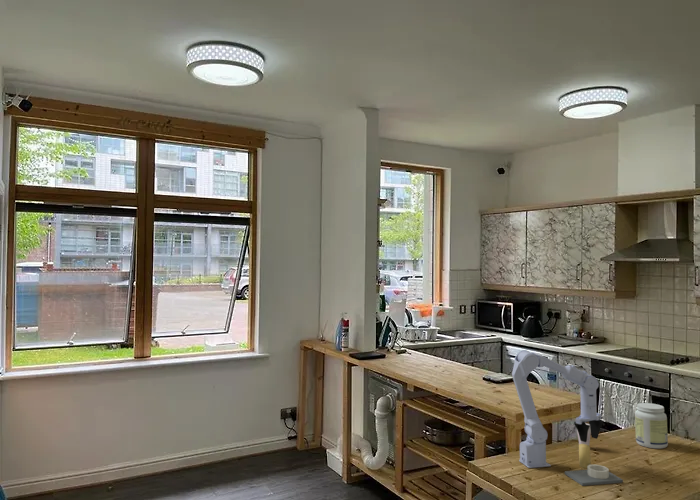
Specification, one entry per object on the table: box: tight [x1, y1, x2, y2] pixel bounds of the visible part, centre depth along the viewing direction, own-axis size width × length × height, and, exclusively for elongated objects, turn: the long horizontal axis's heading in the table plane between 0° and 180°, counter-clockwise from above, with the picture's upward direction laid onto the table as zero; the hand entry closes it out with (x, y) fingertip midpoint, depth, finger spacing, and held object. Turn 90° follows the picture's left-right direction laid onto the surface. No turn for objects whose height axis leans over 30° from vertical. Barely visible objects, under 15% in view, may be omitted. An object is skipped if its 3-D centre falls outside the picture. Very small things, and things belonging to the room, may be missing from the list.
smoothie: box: [576, 422, 591, 446], centre depth 224 cm, size 6×6×14 cm
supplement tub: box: [634, 402, 669, 449], centre depth 227 cm, size 12×12×17 cm
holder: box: [564, 464, 624, 487], centre depth 190 cm, size 16×11×4 cm
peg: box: [578, 443, 592, 469], centre depth 202 cm, size 4×4×8 cm
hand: (589, 439), depth 205 cm, fingers open, 7 cm apart
